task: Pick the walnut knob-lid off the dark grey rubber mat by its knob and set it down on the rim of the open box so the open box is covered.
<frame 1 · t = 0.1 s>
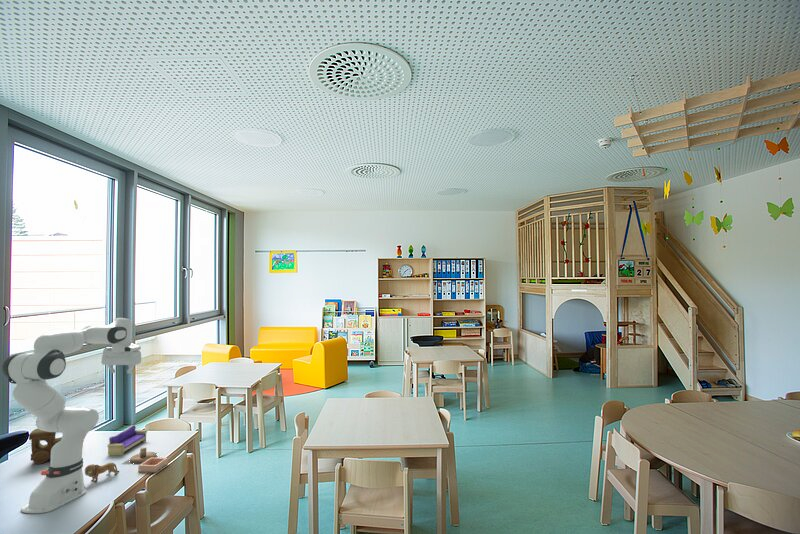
hand: (120, 373, 208), 48 cm above the table, fingers open, 8 cm apart
toy sofa: (127, 448, 224), on the table
lion figurine: (101, 479, 188), on the table
lid: (143, 458, 210), resting on mat
wooden toy train: (54, 458, 211), on the table
open box: (153, 468, 199), on the table
mat: (143, 459, 210), on the table
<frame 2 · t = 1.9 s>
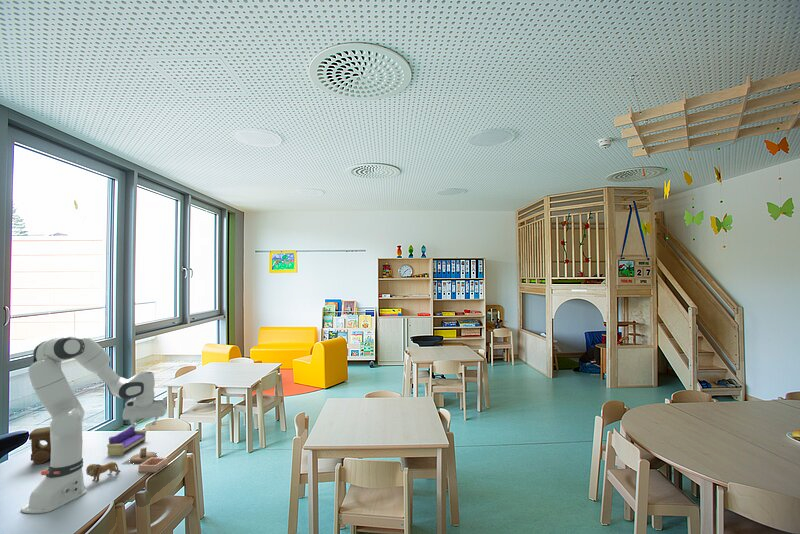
hand: (144, 425, 211), 18 cm above the table, fingers open, 8 cm apart
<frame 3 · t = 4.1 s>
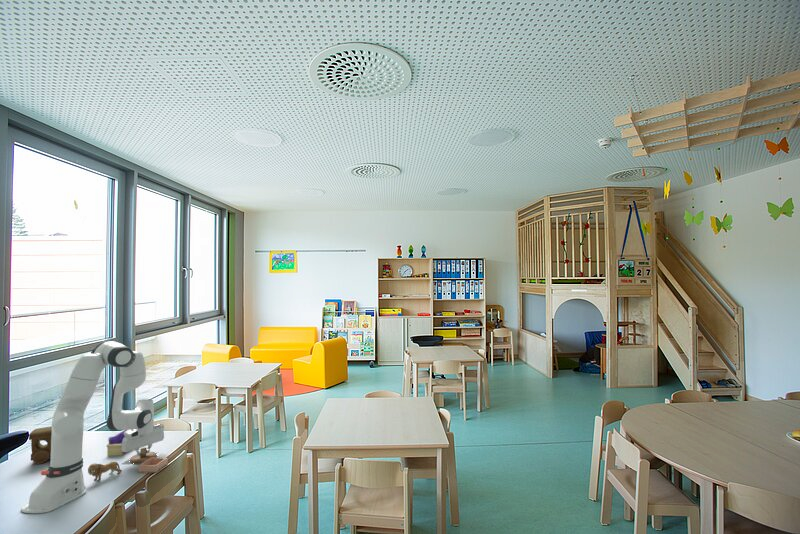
hand: (143, 454, 210), 3 cm above the table, fingers closed on lid, 3 cm apart
lid: (143, 458, 210), resting on mat, touching gripper
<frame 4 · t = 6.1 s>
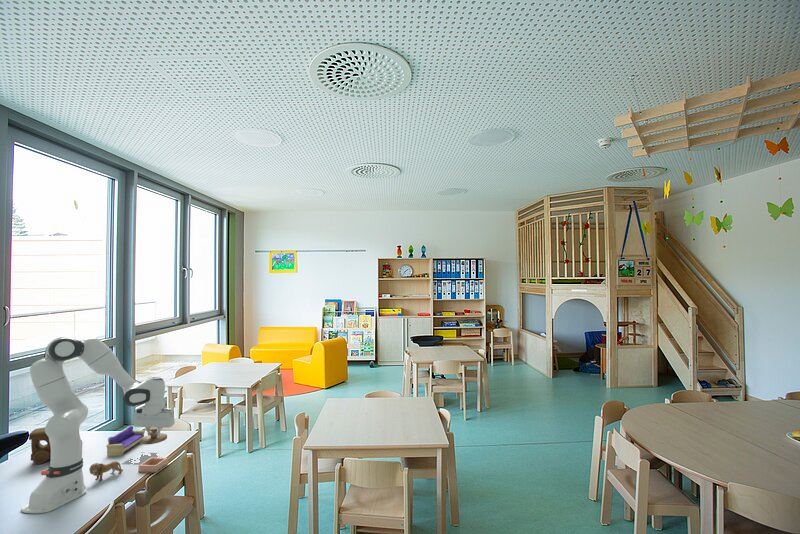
hand: (153, 435, 200), 17 cm above the table, fingers closed on lid, 3 cm apart
lid: (153, 439, 200), point 15 cm above the table, touching gripper
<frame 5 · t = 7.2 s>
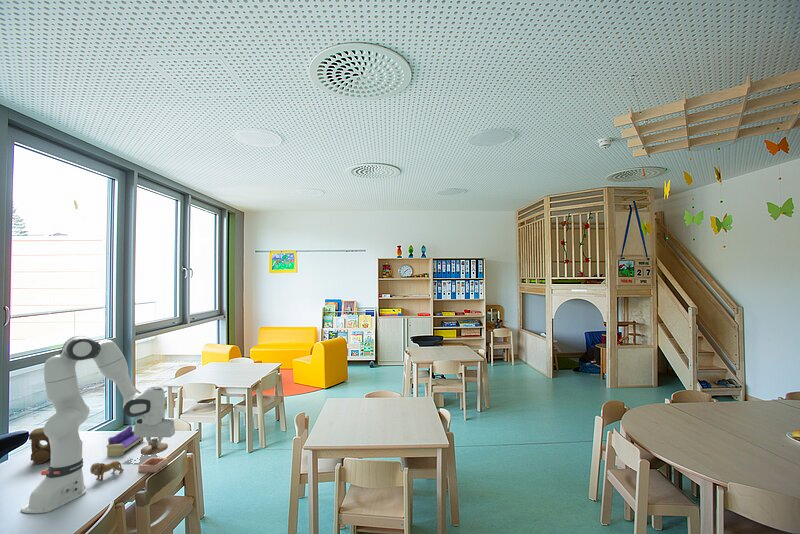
hand: (154, 445, 200), 12 cm above the table, fingers closed on lid, 3 cm apart
lid: (154, 449, 200), point 10 cm above the table, touching gripper
when the fingers open (7 cm above the table, at t = 8.3 s): lid drops 1 cm, resting on open box.
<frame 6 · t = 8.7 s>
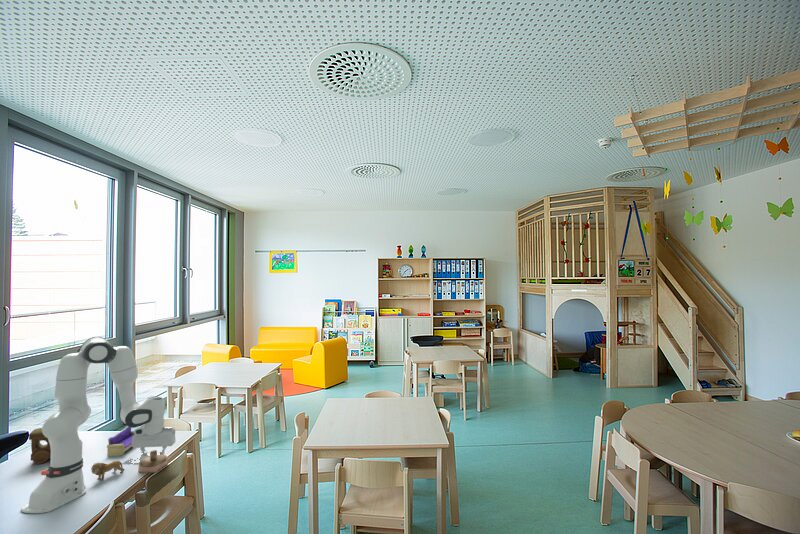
hand: (153, 454, 200), 7 cm above the table, fingers open, 7 cm apart
lid: (153, 461, 200), point 4 cm above the table, touching open box
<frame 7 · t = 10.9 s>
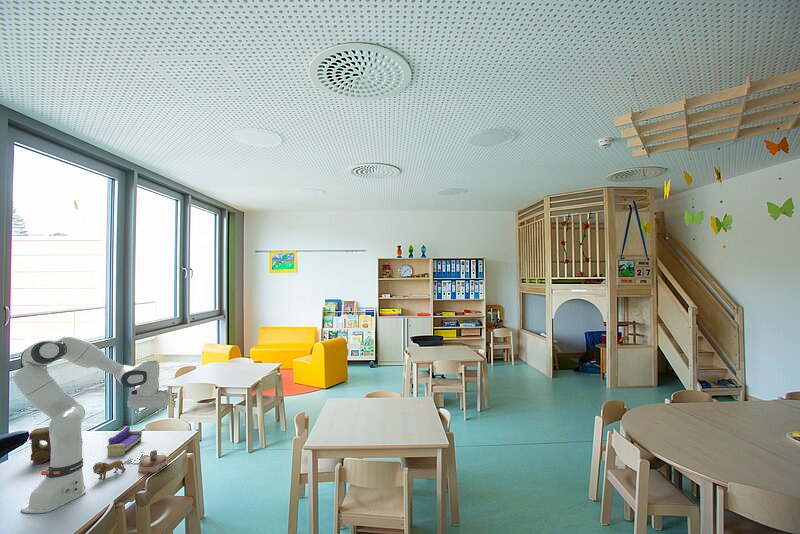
hand: (148, 415, 208), 25 cm above the table, fingers open, 8 cm apart
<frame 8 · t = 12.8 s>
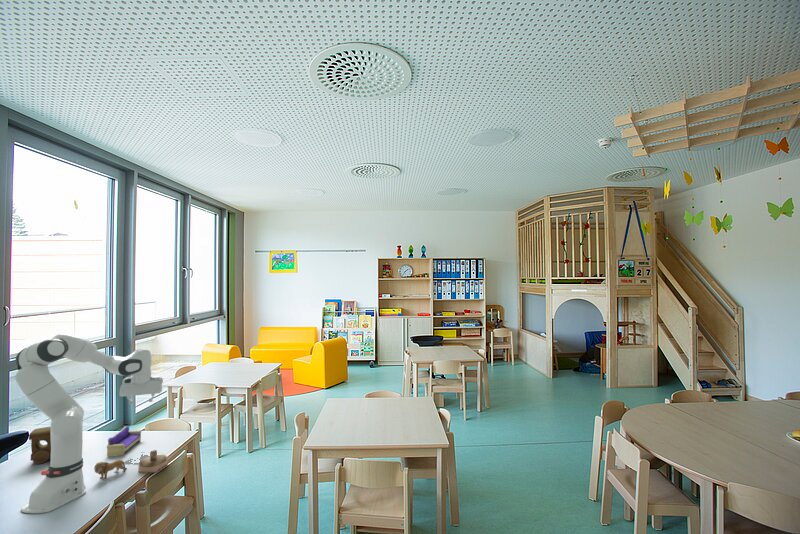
hand: (141, 402, 217), 29 cm above the table, fingers open, 8 cm apart
at the end: lid 0.0 cm off-centre on the open box, point 3.6 cm above the open box's base; lid tilted 0°; the gripper is holding nothing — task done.
